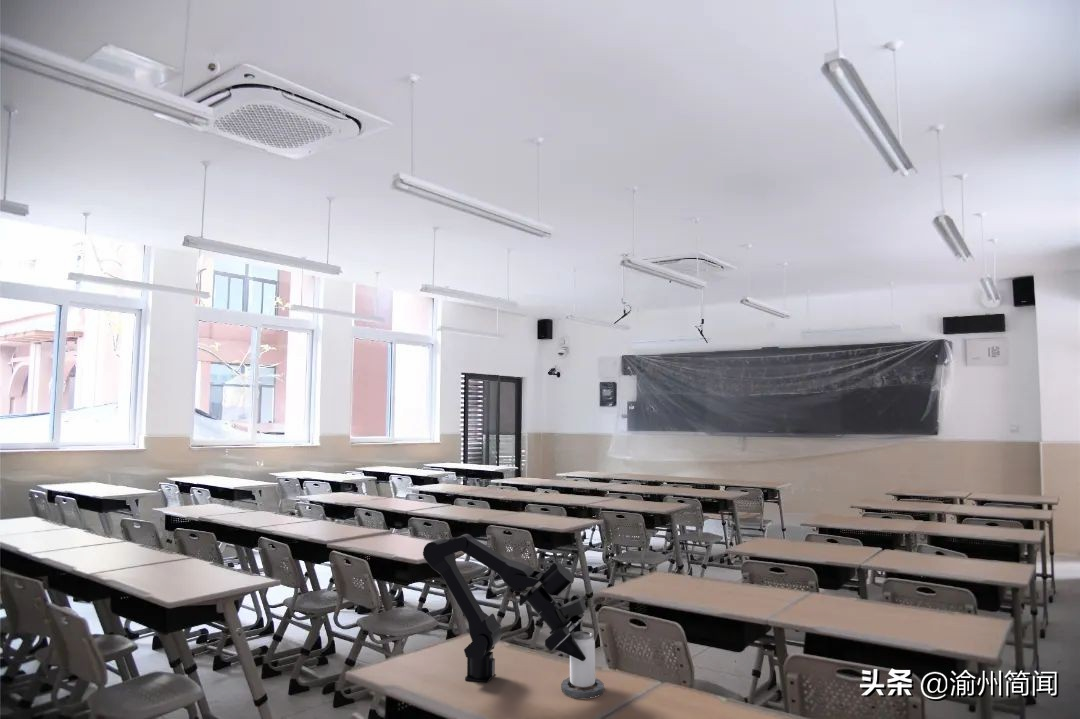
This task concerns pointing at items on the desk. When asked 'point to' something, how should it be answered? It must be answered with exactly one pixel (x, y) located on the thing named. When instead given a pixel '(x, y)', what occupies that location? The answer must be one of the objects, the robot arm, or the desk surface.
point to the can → (583, 670)
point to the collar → (582, 693)
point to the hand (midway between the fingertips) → (587, 655)
